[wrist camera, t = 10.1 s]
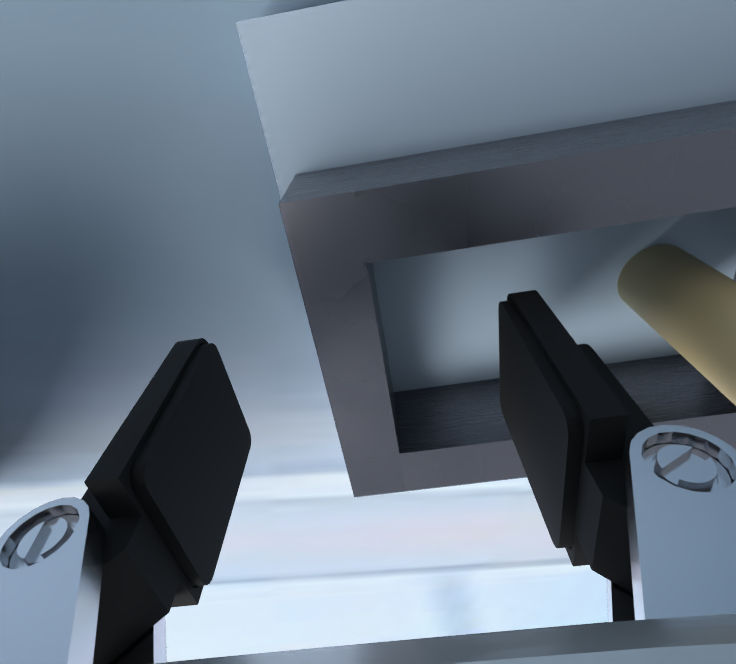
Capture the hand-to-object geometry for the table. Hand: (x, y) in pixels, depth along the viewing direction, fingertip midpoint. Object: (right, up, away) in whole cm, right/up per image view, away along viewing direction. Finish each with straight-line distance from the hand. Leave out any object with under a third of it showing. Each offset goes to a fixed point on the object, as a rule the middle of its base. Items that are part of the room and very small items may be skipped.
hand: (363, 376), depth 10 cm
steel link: (+5, +2, +2) cm, 6 cm away
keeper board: (+7, +3, +3) cm, 9 cm away
